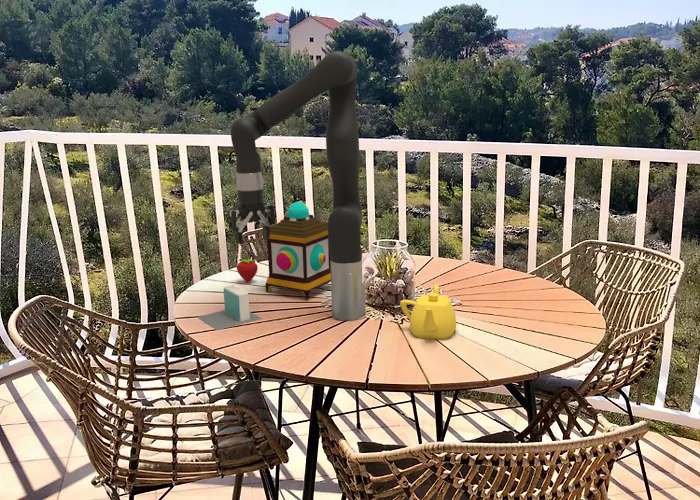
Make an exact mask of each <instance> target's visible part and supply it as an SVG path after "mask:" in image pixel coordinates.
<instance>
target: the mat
mask: <svg viewBox="0 0 700 500" xmlns="http://www.w3.org/2000/svg"><path fill="white" fill-rule="evenodd" d="M196 318H197V319H198V320H200V321H202V322H203V323H205V324H206V325H208V326H210V327H211V328H213V329H214V330H216V331H221V330H223V329H228V328H231V327H235V326H239V325H244V324H248V323H251V322H256V321H259V320H263V318H262V317H260V316H258V315H256V314H255V313H253V312H251V311H250V319H249V320H245V321H239V320H237V319H236V318H234V317H232V316H231V315H229V314H227V313H226V312H225V309H224V310H220V311H214V312H211V313H207V314H203V315H199V316H196Z"/></svg>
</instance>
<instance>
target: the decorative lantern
mask: <svg viewBox="0 0 700 500" xmlns="http://www.w3.org/2000/svg"><path fill="white" fill-rule="evenodd" d="M266 242H267V260H268V261H267V263H268V276H267V279H266V281H265V288H264V289H265V292H266V293H271V292H272V287H274V288H280V289H285V290H291V291H296V292H301V293H303V294H304V295H303V296H304V299H305V301H308V300H310V294H311V292H312V291H314V290H316V289H318V288H320V287H323V286H324V285H326V284H329V283H331V261H330V252H329V242H328V221H321V220H320V219H318V218H317V217H314V215H313V214H310V211H309V207H308V206H307V205H305V204H304V203H303V202H301V201H295V202H293V203H292V204H290V206H289V207H288V209H287V215H285V216H283V219H281V220H280V221H279V222H277V223H275V224H274V225H271V226H270V238H269V240H266Z"/></svg>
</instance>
